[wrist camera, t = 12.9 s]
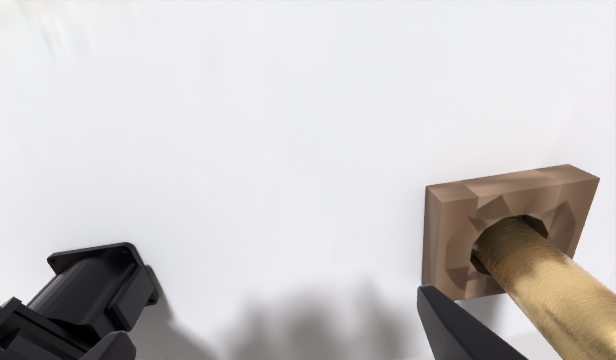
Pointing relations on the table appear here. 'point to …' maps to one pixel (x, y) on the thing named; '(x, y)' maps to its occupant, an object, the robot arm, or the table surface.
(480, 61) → the table surface
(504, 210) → the jig plate
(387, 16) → the table surface
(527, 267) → the bronze sleeve
